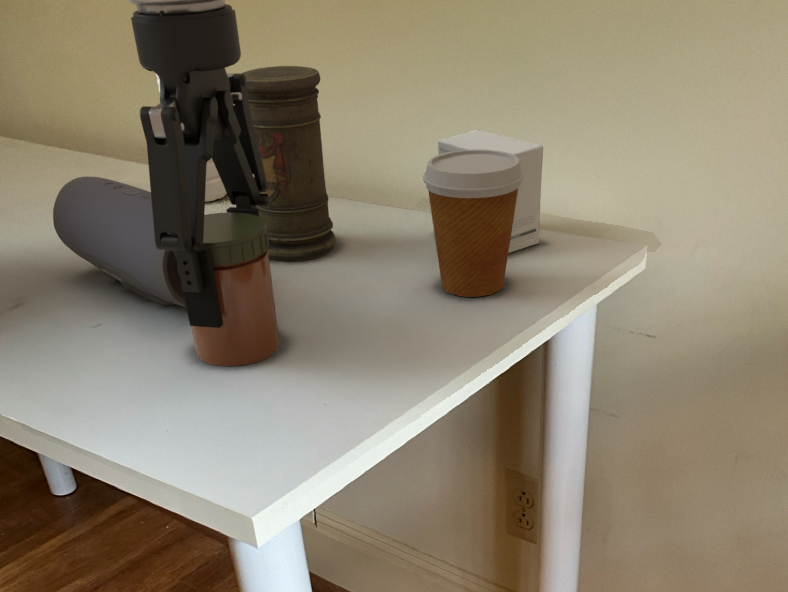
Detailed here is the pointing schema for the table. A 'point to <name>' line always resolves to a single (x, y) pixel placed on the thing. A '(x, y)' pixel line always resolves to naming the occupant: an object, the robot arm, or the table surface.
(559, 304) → the table surface
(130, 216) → the bluetooth speaker
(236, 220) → the lid
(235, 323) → the jar
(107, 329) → the table surface
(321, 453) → the table surface
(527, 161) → the cosmetics box
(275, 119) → the container
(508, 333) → the table surface
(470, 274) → the disposable coffee cup
